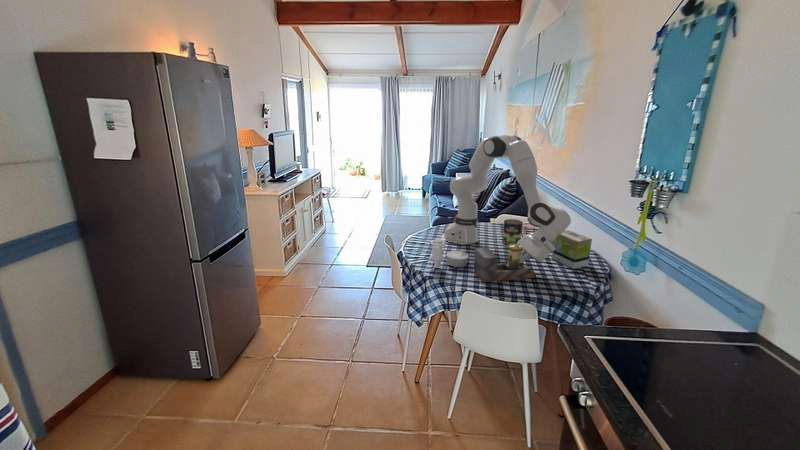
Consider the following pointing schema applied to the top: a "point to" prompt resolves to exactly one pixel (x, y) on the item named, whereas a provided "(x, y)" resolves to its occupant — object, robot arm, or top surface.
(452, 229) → the robot arm
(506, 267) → the knob
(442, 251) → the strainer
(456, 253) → the ramekin
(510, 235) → the coffee can
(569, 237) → the tea box
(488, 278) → the rail mount
